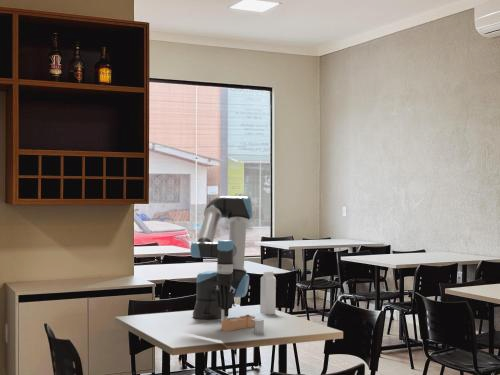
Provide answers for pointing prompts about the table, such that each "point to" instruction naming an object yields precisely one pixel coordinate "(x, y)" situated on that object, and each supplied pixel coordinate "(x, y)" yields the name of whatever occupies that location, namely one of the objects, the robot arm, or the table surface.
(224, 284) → the robot arm
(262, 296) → the milk
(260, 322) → the cylinder
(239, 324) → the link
